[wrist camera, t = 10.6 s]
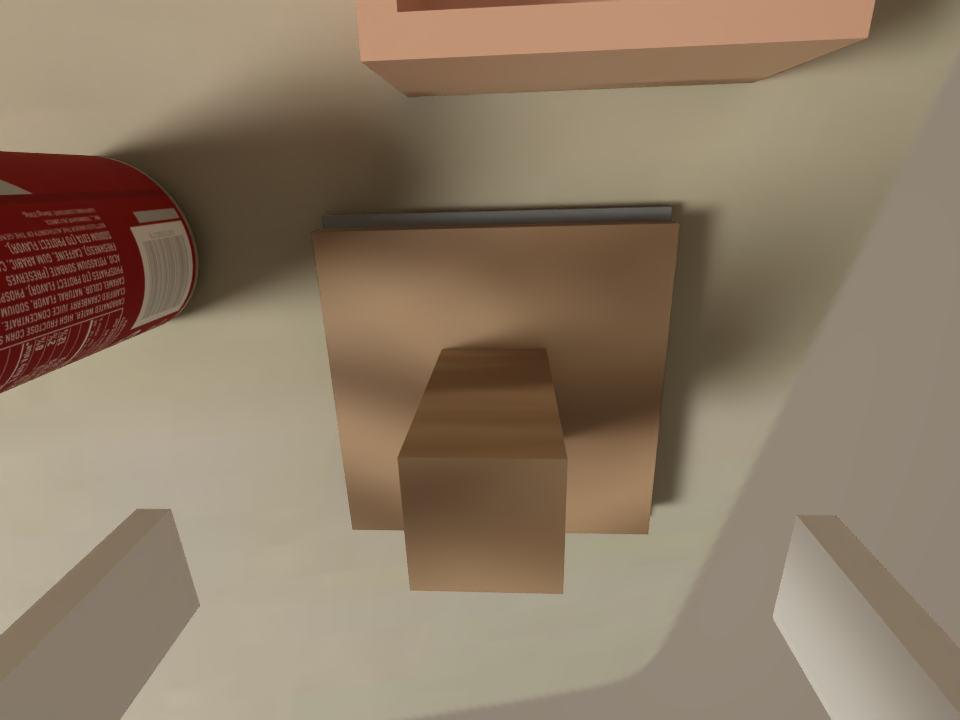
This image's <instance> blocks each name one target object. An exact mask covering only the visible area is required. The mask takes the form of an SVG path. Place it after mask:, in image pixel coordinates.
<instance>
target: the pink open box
mask: <svg viewBox="0 0 960 720" xmlns="http://www.w3.org/2000/svg"><path fill="white" fill-rule="evenodd" d="M355 5H356V16H357V26H358V36H359V47H360V57H361V62H362V63H363V64H365V65H366V66H367V67H369V68H370V69H371V70H373V71H374V72H375V73H377V74H378V75H379V76H381V77H382V78H383V79H385V80H386V81H387V82H389V83H390V84H391V85H393V86H394V87H395V88H397V89H398V90H399V91H401V92H402V93H403V94H405V95H406V96H407V97H418V96H442V95H466V94H490V93H514V92H538V91H562V90H586V89H610V88H634V87H658V86H682V85H706V84H730V83H753V82H756V81H758V80H761V79H763V78H766V77H768V76H771V75H774V74H776V73H779V72H781V71H784V70H786V69H789V68H792V67H794V66H797V65H799V64H802V63H805V62H807V61H810V60H812V59H815V58H817V57H820V56H823V55H825V54H828V53H830V52H833V51H835V50H838V49H841V48H843V47H846V46H848V45H851V44H853V43H856V42H859V41H861V40H864V39H866V38H868V35H869V30H870V25H871V20H872V15H873V10H874V5H875V0H355Z"/></svg>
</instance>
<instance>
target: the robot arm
mask: <svg viewBox="0 0 960 720" xmlns="http://www.w3.org/2000/svg"><path fill="white" fill-rule="evenodd" d="M199 606H200V604H199V601H198V597H197V594H196V591H195V587H194V584H193V581H192V577H191V574H190V571H189V568H188V564H187V561H186V558H185V554H184V551H183V548H182V544H181V541H180V538H179V534H178V531H177V528H176V525H175V521H174V518H173V515H172V511H171V509H136V510H135V511H134V512H133V513H132V514H131V515H130V516H129V517H128V518H127V519H126V520H124V521H123V522H122V523H121V524H120V525H119V526H118V527H117V528H116V529H115V530H114V531H113V532H112V533H110V534H109V535H108V536H107V537H106V538H105V539H104V540H103V541H102V542H101V543H100V544H99V545H98V546H96V547H95V548H94V549H93V550H92V551H91V552H90V553H89V554H88V555H87V556H86V557H85V558H83V559H82V560H81V561H80V562H79V563H78V564H77V565H76V566H75V567H74V568H73V569H72V570H71V571H69V572H68V573H67V574H66V575H65V576H64V577H63V578H62V579H61V580H60V581H59V582H58V583H57V584H55V585H54V586H53V587H52V588H51V589H50V590H49V591H48V592H47V593H46V594H45V595H44V596H42V597H41V598H40V599H39V600H38V601H37V602H36V603H35V604H34V605H33V606H32V607H31V608H30V609H28V610H27V611H26V612H25V613H24V614H23V615H22V616H21V617H20V618H19V619H18V620H17V621H15V622H14V623H13V624H12V625H11V626H10V627H9V628H8V629H7V630H6V631H5V632H4V633H3V634H1V635H0V720H120V719H121V717H122V716H123V714H124V713H125V712H126V710H127V709H128V707H129V706H130V704H131V703H132V702H133V700H134V699H135V697H136V696H137V694H138V693H139V692H140V690H141V689H142V687H143V686H144V684H145V683H146V682H147V680H148V679H149V677H150V676H151V674H152V673H153V672H154V670H155V669H156V667H157V666H158V664H159V663H160V662H161V660H162V659H163V657H164V656H165V654H166V653H167V652H168V650H169V649H170V647H171V646H172V644H173V643H174V642H175V640H176V639H177V637H178V636H179V635H180V633H181V632H182V630H183V629H184V627H185V626H186V625H187V623H188V622H189V620H190V619H191V617H192V616H193V615H194V613H195V612H196V610H197V609H198V607H199ZM773 619H774V621H775V623H776V624H777V626H778V628H779V629H780V632H781V633H782V635H783V636H784V638H785V640H786V642H787V644H788V645H789V647H790V649H791V650H792V652H793V654H794V656H795V657H796V659H797V661H798V662H799V664H800V666H801V668H802V669H803V671H804V673H805V675H806V676H807V678H808V680H809V682H810V683H811V685H812V687H813V688H814V690H815V692H816V694H817V695H818V697H819V699H820V700H821V702H822V704H823V706H824V707H825V709H826V711H827V713H828V714H829V716H830V718H831V719H832V720H960V648H959V647H958V646H957V645H956V644H955V642H954V641H953V640H952V639H951V638H950V637H949V636H948V635H947V634H946V633H945V632H944V631H943V629H942V628H941V627H940V626H939V625H938V624H937V623H936V622H935V621H934V620H933V619H932V618H931V617H930V616H929V614H927V612H926V611H925V610H924V609H923V608H922V607H921V606H920V605H919V604H918V603H917V602H916V601H915V600H914V598H913V597H912V596H911V595H910V594H909V593H908V592H907V591H906V590H905V589H904V588H903V587H902V585H901V584H900V583H899V582H898V581H897V580H896V579H895V578H894V577H893V576H892V575H891V574H890V573H889V572H888V570H887V569H886V568H884V566H883V565H882V564H881V563H880V562H879V561H878V560H877V559H876V558H875V557H874V555H873V554H872V553H871V552H870V551H869V550H868V549H867V548H866V547H865V546H864V545H863V544H862V543H861V542H860V540H859V539H858V538H857V537H856V536H855V535H854V534H853V533H852V532H851V531H850V530H849V529H848V527H846V526H845V524H844V523H843V522H842V521H841V520H840V519H839V518H838V517H837V516H825V515H824V516H823V515H820V516H819V515H814V516H813V515H797V517H796V521H795V525H794V529H793V534H792V538H791V542H790V546H789V550H788V555H787V559H786V563H785V567H784V572H783V576H782V580H781V584H780V588H779V593H778V597H777V601H776V605H775V610H774V614H773Z"/></svg>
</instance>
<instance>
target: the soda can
mask: <svg viewBox="0 0 960 720" xmlns="http://www.w3.org/2000/svg"><path fill="white" fill-rule="evenodd" d="M198 269H199V261H198V251H197V246H196V242H195V238H194V235H193V232H192V229H191V227H190V225H189V223H188V220H187V219H186V217H185V215H184V213H183V211H182V210H181V208H180V207H179V205H178V204H177V203H176V201H175V200H174V199H173V198H172V196H171V195H170V194H169V193H168V192H167V191H166V190H165V189H164V188H163V187H162V186H161V185H160V184H159V183H158V182H157V181H155V180H154V179H153V178H151V177H150V176H149V175H147V174H146V173H144V172H143V171H141V170H139V169H137V168H136V167H134V166H132V165H129V164H127V163H125V162H122V161H119V160H116V159H112V158H108V157H101V156H86V155H65V154H44V153H23V152H3V151H0V393H2V392H4V391H7V390H9V389H11V388H14V387H16V386H19V385H21V384H23V383H26V382H28V381H30V380H33V379H35V378H37V377H40V376H42V375H45V374H47V373H49V372H52V371H54V370H56V369H59V368H61V367H63V366H66V365H68V364H70V363H73V362H75V361H78V360H80V359H82V358H85V357H87V356H89V355H92V354H94V353H96V352H99V351H101V350H103V349H106V348H108V347H111V346H113V345H115V344H118V343H120V342H122V341H125V340H127V339H129V338H132V337H134V336H137V335H139V334H141V333H144V332H146V331H148V330H151V329H153V328H155V327H158V326H160V325H162V324H165V323H166V322H168V321H170V320H171V319H173V318H174V317H176V316H177V315H178V314H179V313H180V312H181V311H182V310H183V309H184V308H185V306H186V305H187V303H188V302H189V300H190V299H191V297H192V295H193V292H194V290H195V287H196V283H197V279H198Z"/></svg>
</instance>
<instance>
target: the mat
mask: <svg viewBox="0 0 960 720" xmlns="http://www.w3.org/2000/svg"><path fill="white" fill-rule="evenodd" d="M671 211H672V207H670V206H646V207H607V208H569V209H531V210H493V211H455V212H416V213H378V214H340V215H324V216H322V220H323V228H324V229H341V228H382V227H423V226H464V225H505V224H546V223H587V222H628V221H669V220H670V221H671Z"/></svg>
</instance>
